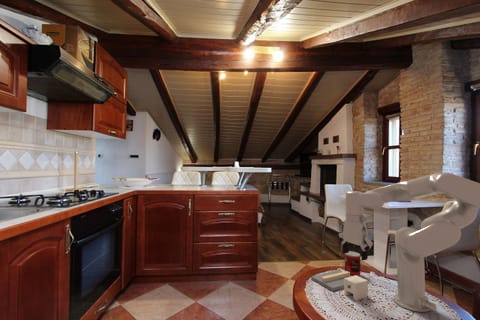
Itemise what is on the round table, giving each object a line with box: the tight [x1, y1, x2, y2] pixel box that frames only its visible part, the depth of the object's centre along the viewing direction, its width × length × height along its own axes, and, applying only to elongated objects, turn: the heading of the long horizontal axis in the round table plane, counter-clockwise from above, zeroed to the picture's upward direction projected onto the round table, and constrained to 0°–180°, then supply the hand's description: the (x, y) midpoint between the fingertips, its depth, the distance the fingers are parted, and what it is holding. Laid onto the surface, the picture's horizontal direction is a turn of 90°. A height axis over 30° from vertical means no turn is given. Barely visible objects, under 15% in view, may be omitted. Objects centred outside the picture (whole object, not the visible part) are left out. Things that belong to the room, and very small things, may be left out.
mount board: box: [310, 269, 351, 292], centre depth 121 cm, size 14×20×3 cm
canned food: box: [344, 250, 362, 277], centre depth 131 cm, size 8×8×11 cm
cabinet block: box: [343, 275, 369, 301], centre depth 107 cm, size 6×9×7 cm
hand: (354, 256), depth 108 cm, fingers open, 9 cm apart
